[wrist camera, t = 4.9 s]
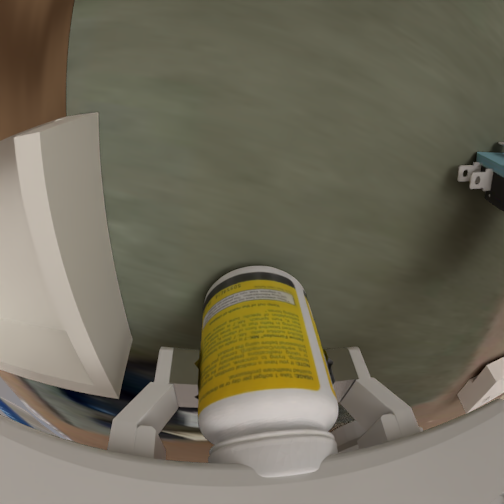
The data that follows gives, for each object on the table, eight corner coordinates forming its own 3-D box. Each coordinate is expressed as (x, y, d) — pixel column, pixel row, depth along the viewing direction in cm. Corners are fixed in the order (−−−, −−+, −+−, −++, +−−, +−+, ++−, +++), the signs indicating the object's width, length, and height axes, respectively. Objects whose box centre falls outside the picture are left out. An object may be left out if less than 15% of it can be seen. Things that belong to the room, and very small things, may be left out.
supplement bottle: (182, 301, 13) (163, 486, 6) (261, 241, 12) (299, 461, 5) (250, 348, 15) (265, 499, 8) (324, 303, 14) (376, 468, 7)
